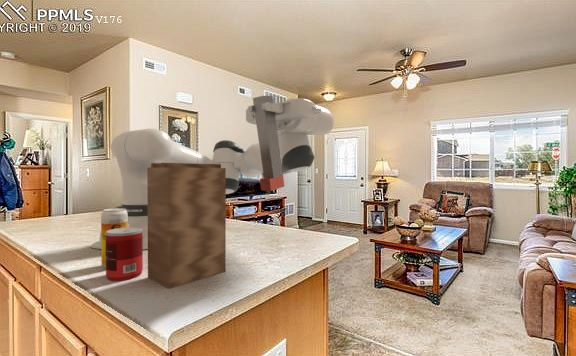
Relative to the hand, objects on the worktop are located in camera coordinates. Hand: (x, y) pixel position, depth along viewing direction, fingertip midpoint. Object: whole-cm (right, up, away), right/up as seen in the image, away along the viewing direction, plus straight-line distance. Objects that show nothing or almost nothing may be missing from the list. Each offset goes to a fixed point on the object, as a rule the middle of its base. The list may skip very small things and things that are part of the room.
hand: (256, 107), depth 74 cm
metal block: (+4, -8, +5) cm, 10 cm away
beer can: (-38, -40, +7) cm, 56 cm away
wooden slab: (-17, -40, +1) cm, 44 cm away
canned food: (-32, -41, 0) cm, 52 cm away
